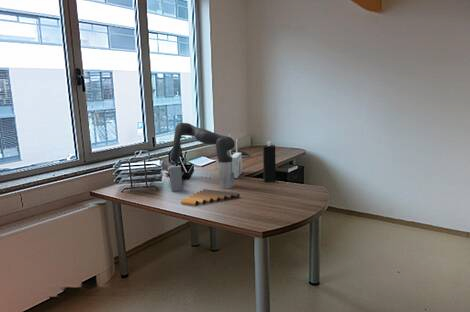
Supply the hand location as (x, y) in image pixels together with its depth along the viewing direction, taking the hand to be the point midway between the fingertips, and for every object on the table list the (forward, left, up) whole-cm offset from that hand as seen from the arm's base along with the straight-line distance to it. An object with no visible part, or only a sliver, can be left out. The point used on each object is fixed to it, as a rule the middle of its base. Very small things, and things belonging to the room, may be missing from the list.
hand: (175, 176), depth 239 cm
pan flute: (-37, +13, -9) cm, 40 cm away
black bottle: (-49, -42, -8) cm, 65 cm away
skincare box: (-19, -47, -8) cm, 51 cm away
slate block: (-3, +3, -8) cm, 9 cm away
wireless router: (+21, -113, -8) cm, 115 cm away
